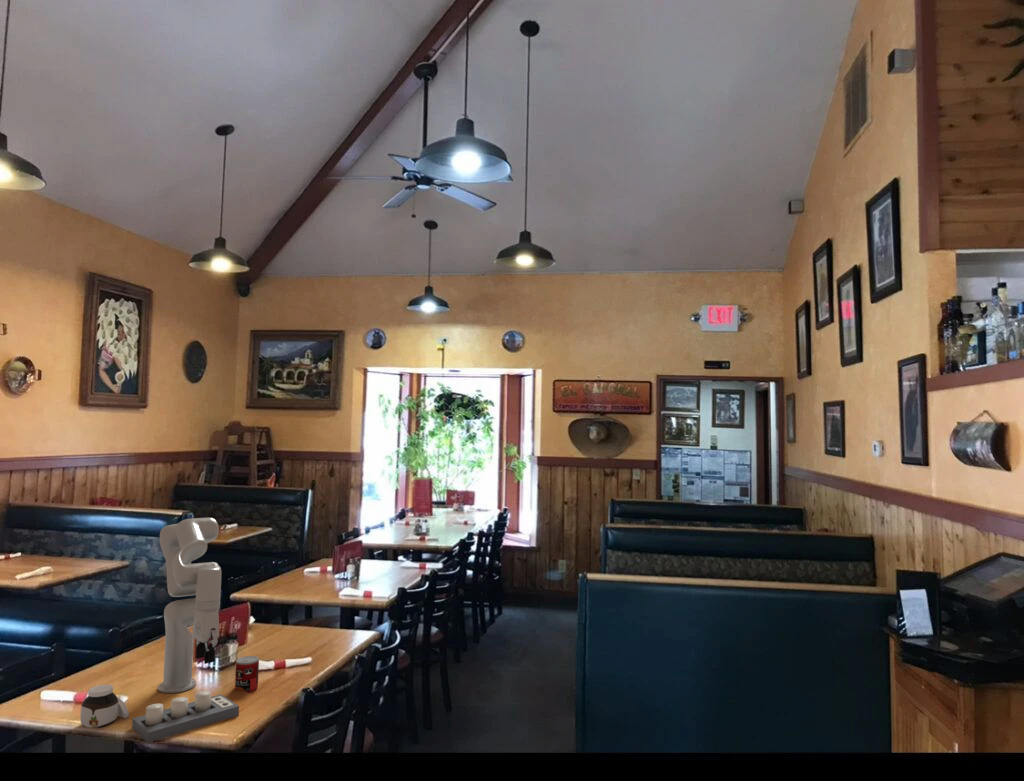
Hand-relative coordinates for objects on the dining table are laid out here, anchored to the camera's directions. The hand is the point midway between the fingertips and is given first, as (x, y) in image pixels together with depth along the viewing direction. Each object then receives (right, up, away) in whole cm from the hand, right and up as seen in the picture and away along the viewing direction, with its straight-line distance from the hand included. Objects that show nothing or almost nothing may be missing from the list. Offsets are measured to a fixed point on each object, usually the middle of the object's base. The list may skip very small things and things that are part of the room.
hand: (205, 659), depth 220 cm
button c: (-11, -15, -12) cm, 22 cm away
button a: (0, -16, -1) cm, 16 cm away
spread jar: (-30, -19, -5) cm, 36 cm away
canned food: (+4, -22, +25) cm, 33 cm away
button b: (-5, -16, -6) cm, 18 cm away
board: (-4, -19, -5) cm, 20 cm away
